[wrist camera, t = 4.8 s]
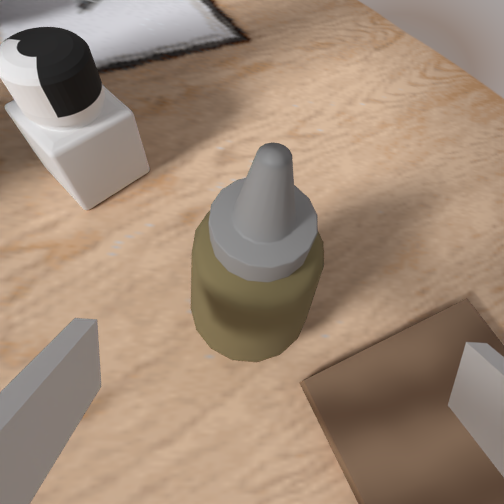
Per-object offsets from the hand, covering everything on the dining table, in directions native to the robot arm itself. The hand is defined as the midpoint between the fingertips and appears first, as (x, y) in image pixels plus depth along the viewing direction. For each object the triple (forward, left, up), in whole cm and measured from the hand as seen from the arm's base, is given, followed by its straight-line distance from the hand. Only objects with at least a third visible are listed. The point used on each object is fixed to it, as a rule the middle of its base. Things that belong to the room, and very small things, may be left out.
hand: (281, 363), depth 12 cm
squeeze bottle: (-6, +2, -14) cm, 15 cm away
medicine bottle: (-25, -5, -14) cm, 29 cm away
